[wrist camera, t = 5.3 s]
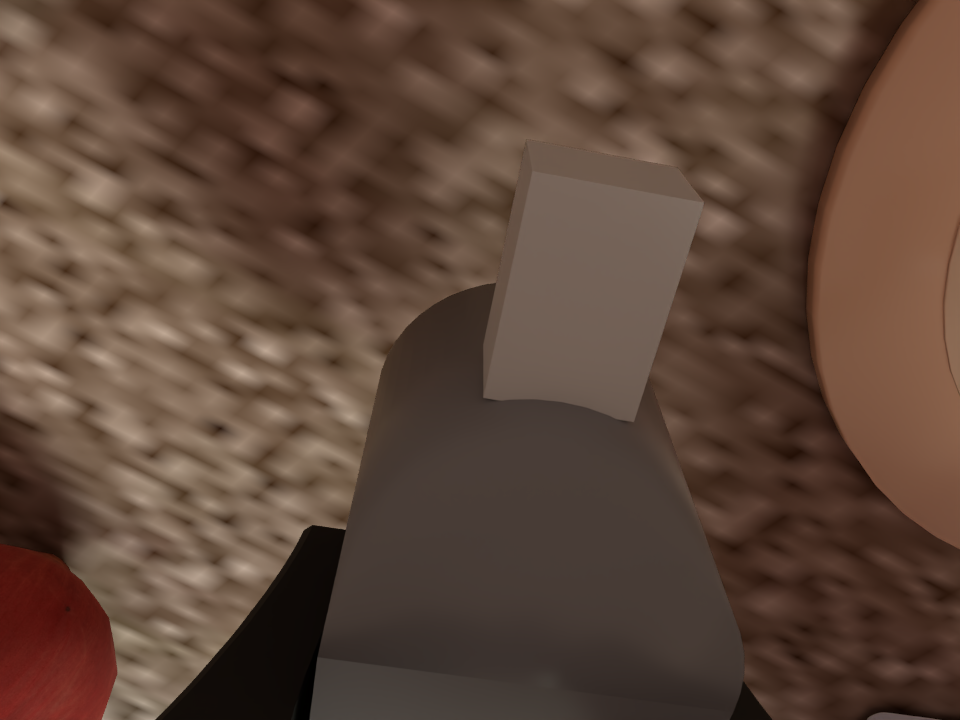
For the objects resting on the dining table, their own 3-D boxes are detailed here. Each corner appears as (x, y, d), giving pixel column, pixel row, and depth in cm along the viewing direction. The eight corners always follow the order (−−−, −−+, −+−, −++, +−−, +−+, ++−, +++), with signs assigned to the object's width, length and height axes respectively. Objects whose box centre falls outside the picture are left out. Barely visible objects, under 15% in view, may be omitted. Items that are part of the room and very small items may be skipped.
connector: (542, 735, 16) (565, 1057, 11) (331, 708, 15) (269, 1028, 11) (738, 144, 10) (926, 312, 6) (422, 83, 10) (375, 216, 6)
